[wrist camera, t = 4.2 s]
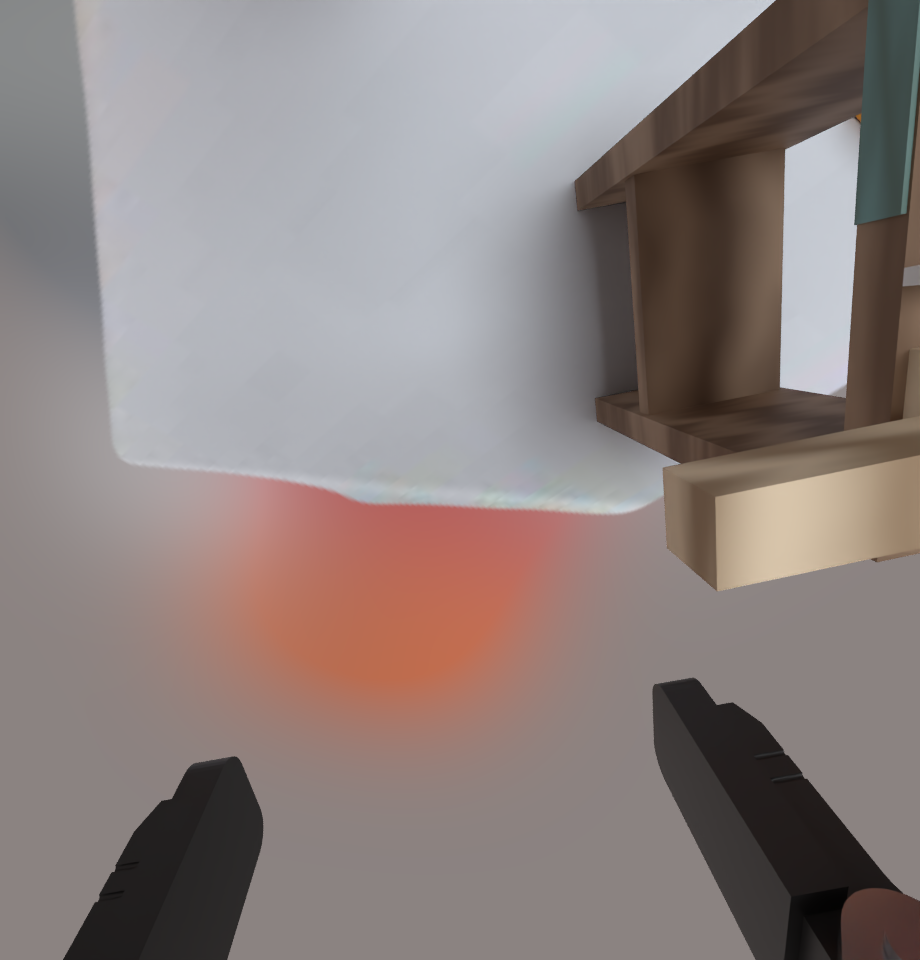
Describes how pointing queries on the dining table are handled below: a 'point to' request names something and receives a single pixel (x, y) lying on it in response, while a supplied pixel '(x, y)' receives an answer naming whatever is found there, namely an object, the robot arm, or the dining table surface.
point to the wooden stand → (766, 230)
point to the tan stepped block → (800, 501)
